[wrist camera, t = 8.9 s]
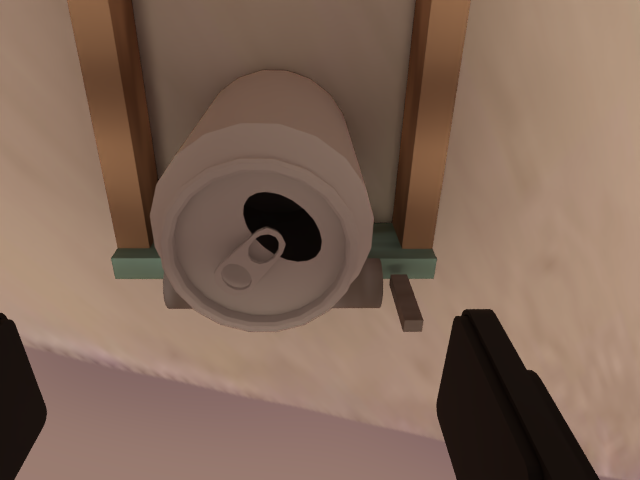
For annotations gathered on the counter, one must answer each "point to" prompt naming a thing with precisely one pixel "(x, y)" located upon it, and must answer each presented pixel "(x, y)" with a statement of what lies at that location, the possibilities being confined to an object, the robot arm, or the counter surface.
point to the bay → (141, 175)
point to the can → (264, 206)
